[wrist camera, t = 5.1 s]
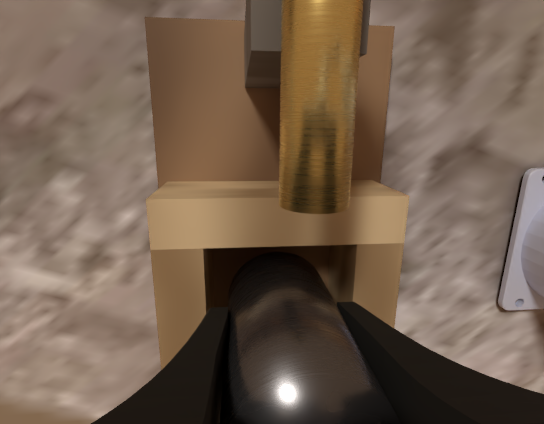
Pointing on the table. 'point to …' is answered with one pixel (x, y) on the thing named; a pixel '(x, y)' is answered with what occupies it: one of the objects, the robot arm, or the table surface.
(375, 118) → the dock
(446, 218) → the table surface
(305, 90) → the lock bolt
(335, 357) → the black rounded block
